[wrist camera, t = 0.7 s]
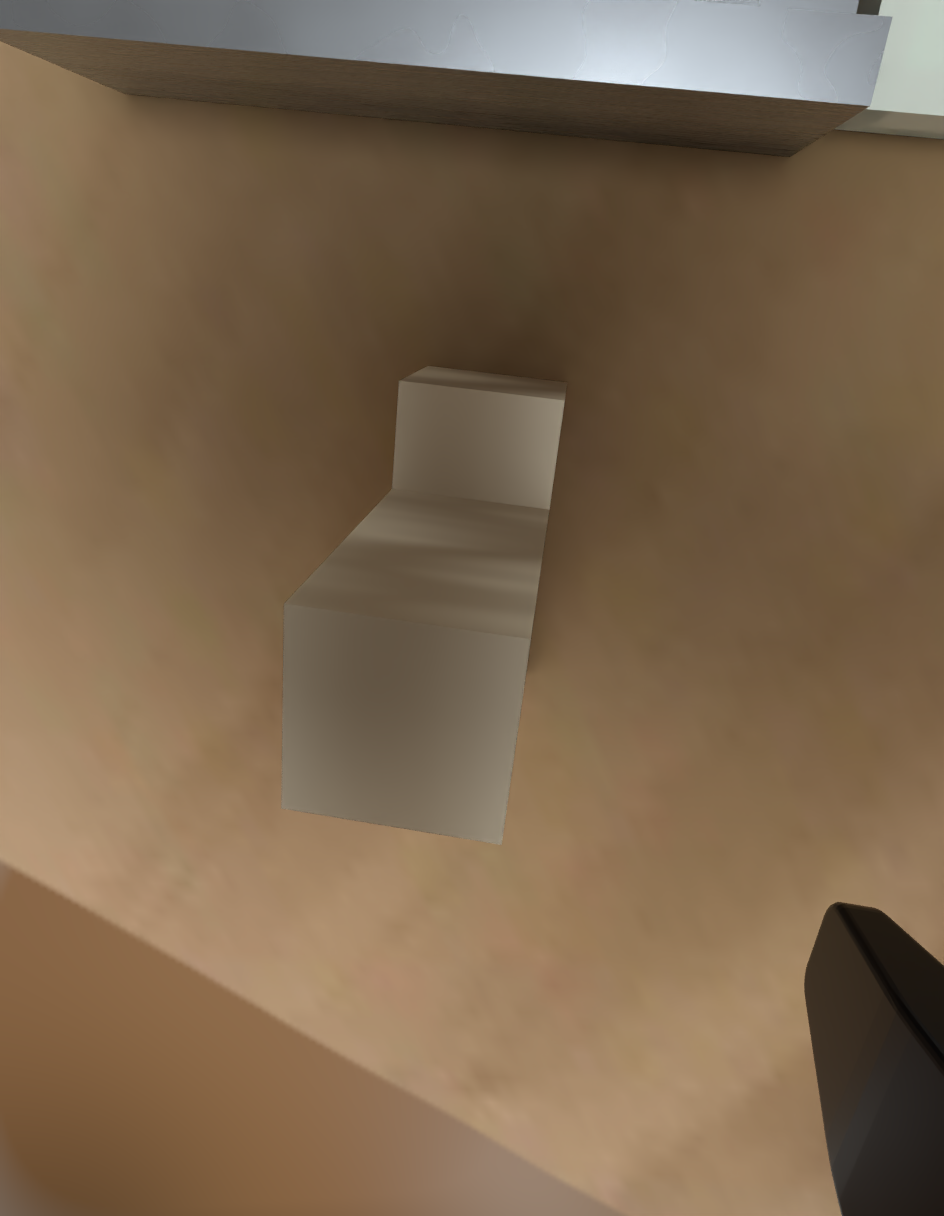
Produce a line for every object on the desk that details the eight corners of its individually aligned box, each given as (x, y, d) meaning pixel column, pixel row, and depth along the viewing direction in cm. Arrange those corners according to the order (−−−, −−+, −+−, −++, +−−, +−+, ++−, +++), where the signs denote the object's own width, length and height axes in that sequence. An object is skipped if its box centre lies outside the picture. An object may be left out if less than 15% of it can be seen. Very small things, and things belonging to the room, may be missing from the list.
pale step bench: (567, 382, 17) (554, 472, 9) (525, 675, 20) (485, 959, 11) (428, 365, 17) (286, 438, 9) (405, 657, 20) (280, 923, 12)
